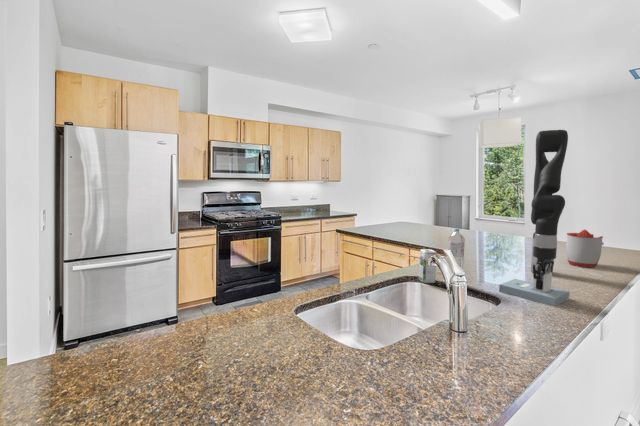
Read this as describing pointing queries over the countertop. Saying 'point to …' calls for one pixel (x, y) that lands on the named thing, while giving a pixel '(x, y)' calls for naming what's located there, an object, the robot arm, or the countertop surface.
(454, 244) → the water bottle
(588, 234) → the citrus juicer
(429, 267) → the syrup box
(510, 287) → the plate
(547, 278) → the charger plug
